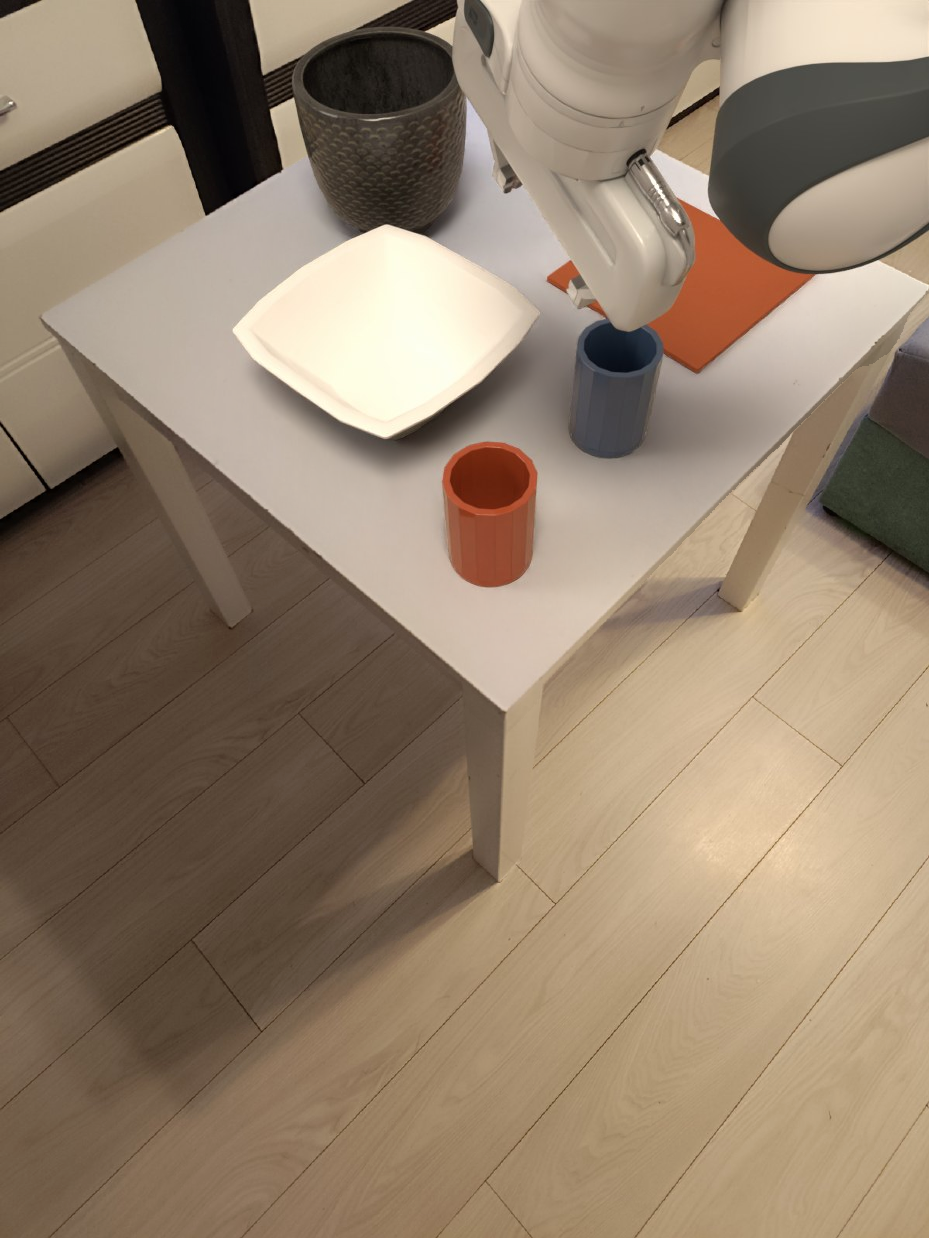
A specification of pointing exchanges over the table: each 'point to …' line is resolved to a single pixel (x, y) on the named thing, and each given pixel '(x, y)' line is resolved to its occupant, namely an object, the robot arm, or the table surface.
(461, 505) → the rust cup
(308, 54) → the planter
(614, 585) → the table surface
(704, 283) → the rust mat
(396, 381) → the bowl
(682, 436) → the table surface
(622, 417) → the blue cup
